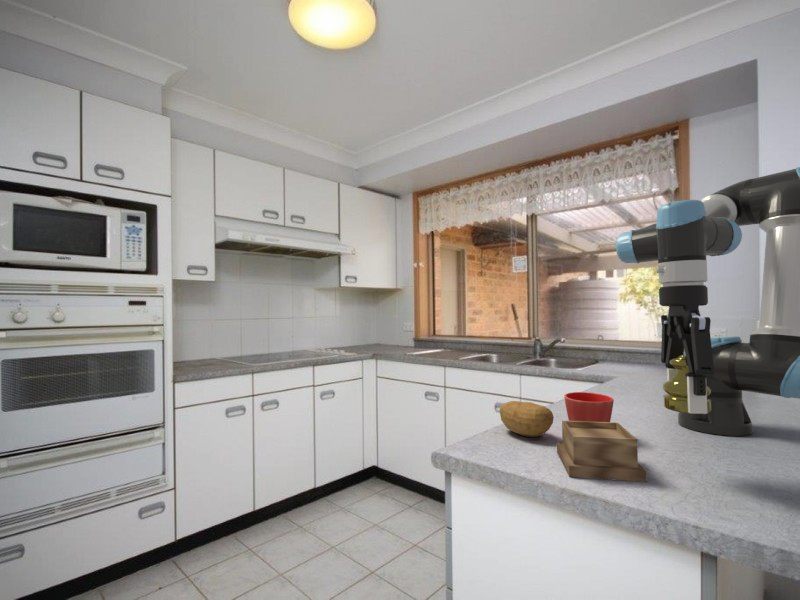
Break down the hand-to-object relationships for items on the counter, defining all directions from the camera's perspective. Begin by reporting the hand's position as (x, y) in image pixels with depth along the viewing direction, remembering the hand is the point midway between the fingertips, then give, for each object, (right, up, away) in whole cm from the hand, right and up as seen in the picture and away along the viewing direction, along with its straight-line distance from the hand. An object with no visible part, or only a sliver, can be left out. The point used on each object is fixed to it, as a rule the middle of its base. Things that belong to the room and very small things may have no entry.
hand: (686, 407), depth 77 cm
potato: (-23, -14, +25) cm, 36 cm away
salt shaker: (0, -1, 0) cm, 1 cm away
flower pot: (-8, -13, +23) cm, 27 cm away
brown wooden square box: (-15, -13, +5) cm, 20 cm away
